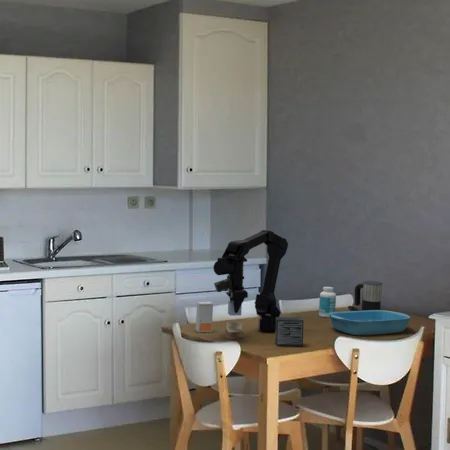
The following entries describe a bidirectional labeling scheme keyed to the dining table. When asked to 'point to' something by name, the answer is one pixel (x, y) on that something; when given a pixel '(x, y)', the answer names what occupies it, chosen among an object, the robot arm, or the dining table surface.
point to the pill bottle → (327, 302)
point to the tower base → (233, 335)
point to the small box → (289, 331)
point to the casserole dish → (369, 322)
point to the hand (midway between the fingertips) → (234, 311)
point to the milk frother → (368, 296)
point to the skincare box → (204, 317)
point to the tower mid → (234, 327)
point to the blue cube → (231, 309)
